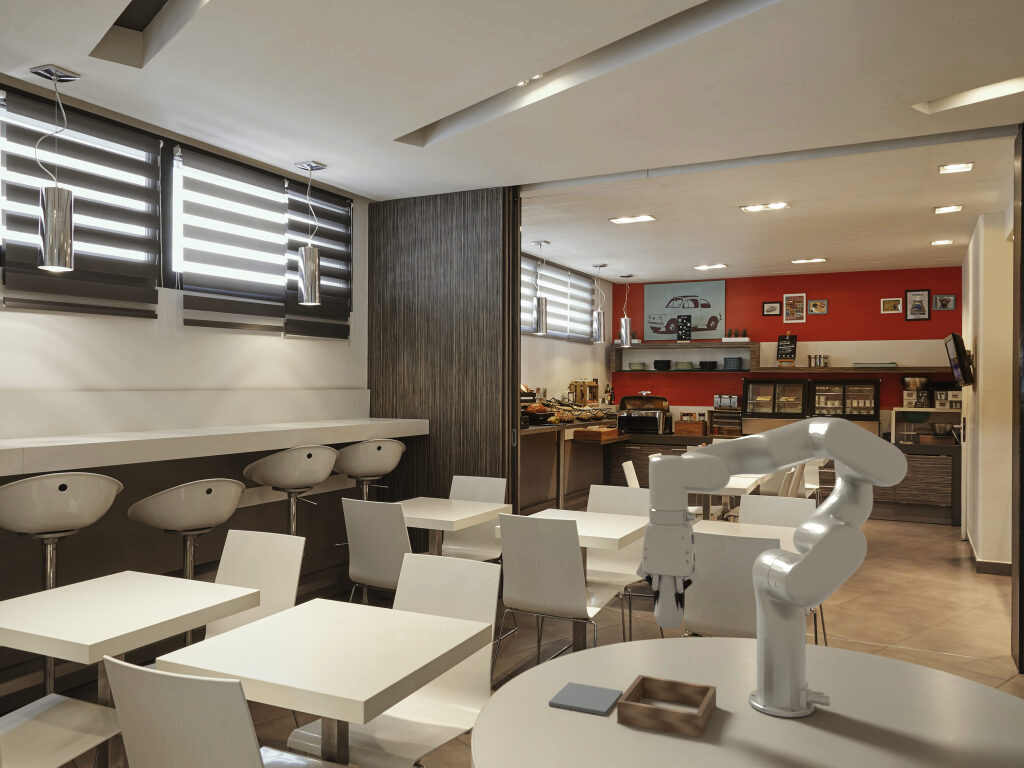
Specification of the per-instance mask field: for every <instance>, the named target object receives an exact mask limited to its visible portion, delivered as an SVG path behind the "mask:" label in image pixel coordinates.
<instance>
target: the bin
mask: <svg viewBox="0 0 1024 768" xmlns="http://www.w3.org/2000/svg"><path fill="white" fill-rule="evenodd" d="M644 696H647V697H646V698H650V697H652V699H656V698H658V699H657V700H662V699H665V700H664V701H668V700H670V701H669V702H674V701H675V702H676V703H680V702H681V703H682V704H686V703H687V705H692V706H699V708H698V709H697V712H694V711H686V710H680V709H674V708H670V707H663V706H657V705H650V704H644V703H639V702H640V700H641V699H642V698H641V697H644ZM640 698H641V699H640ZM638 701H639V702H638ZM681 703H680V704H681ZM616 706H617V707H616V710H617V711H616V713H617V715H616V717H617V718H616V720H617V723H618V724H623V725H628V724H629V726H634V725H635V727H639V726H641V727H640V728H645V727H646V729H650V728H651V730H656V731H660V732H661V731H662V732H666V733H667V732H668V733H672V734H678V735H679V734H680V735H684V736H688V737H693V738H694V737H695V738H701V739H702V737H703V735H704V733H705V730H706V728H707V726H708V724H709V722H710V721H711V718H712V716H713V714H714V711H715V710H716V708H717V686H713V685H707V684H700V683H696V682H694V683H693V682H690V681H688V682H687V681H681V680H675V679H668V678H661V677H657V676H651V675H650V676H649V675H642V674H638V676H637V677H636V678H635V679H634V680H633V682H632V683H631V684H630V685H629V686H628V688H627V689H626V690H625V691H624V692H623V695H622V696H621V697H620V699H619V700H618V701H617V702H616Z"/></svg>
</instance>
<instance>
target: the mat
mask: <svg viewBox="0 0 1024 768" xmlns="http://www.w3.org/2000/svg"><path fill="white" fill-rule="evenodd" d="M623 691H624V690H619V689H613V688H606V687H602V686H595V685H588V684H582V683H577V682H572V681H569V682H568V683H566V684H565V685H564V686H563V688H561V690H559V691H558V692H557V693H556V694H555V695H554V696H553V697H552V698H551V699H550V700H549V701H548V706H549V707H555V708H559V707H560V709H564V708H567V709H566V710H570V709H572V711H575V710H578V711H577V712H581V711H583V712H582V713H587V712H589V713H588V714H592V713H595V714H594V715H598V714H599V715H600V716H603V715H605V716H607V715H608V713H609V712H610V711H611V710H612V709H613V708H614V706H615V705H616V704H617V701H618V699H619V698H621V696H622V695H623V694H624V692H623ZM615 703H616V704H615ZM611 708H612V709H611ZM610 709H611V710H610ZM606 714H607V715H606ZM605 716H604V717H605Z"/></svg>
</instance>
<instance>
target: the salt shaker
mask: <svg viewBox="0 0 1024 768" xmlns="http://www.w3.org/2000/svg"><path fill="white" fill-rule="evenodd" d="M658 591H659V592H660V594H659V600H658V604H657V600H656V605H654V612H653V613H654V614H653V615H654V618H655V620H656V622H657V623H656V624H657V625H658V627H660V628H663V629H668V630H675V629H679V628H680V627H681V625H682V622H683V620H684V616H685V615H684V608H681V607H680V604H679V606H678V610H677V605H676V599H675V593H676V592H677V583H676V577H672V576H661V575H660V581H659V587H658Z"/></svg>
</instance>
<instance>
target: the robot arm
mask: <svg viewBox="0 0 1024 768" xmlns="http://www.w3.org/2000/svg"><path fill="white" fill-rule="evenodd" d="M821 459H825V460H831V461H834V462H833V463H834V465H833V466H834V473H835V482H834V487H833V490H832V491H831V493H830V494H829V495H828V497H827V498H826V499H824V501H823V502H822V503H820V505H818V506H817V507H816V508H815V509H814V511H812V512H811V513H810V514H809V515H808V516H807V517H806V518H805V519H804V520H803V521H801V523H800V524H799V525H798V526H797V527H796V529H795V531H794V532H793V537H792V541H793V546H794V547H795V549H796V551H797V552H798V553H800V554H797V553H795V552H792V551H789V550H786V549H782V548H770V549H769V548H768V549H767V550H764V551H763V552H761V553H760V554H758V556H757V557H756V558H755V560H754V563H753V565H752V571H751V573H752V574H751V575H752V584H753V590H754V596H755V605H756V690H753V691H752V692H750V693H749V694H748V703H749V705H750V706H751V707H753V708H754V709H755V710H757V711H760V712H762V713H764V714H768V715H771V716H775V717H781V718H802V717H805V716H809V715H811V714H812V713H813V712H814V711H815V704H816V705H820V706H825V707H831V703H830V702H831V696H830V695H827V694H826V695H825V693H824V691H815V690H812V688H809V682H808V681H807V667H806V666H807V647H806V645H807V619H806V612H805V609H807V610H808V609H814V608H816V607H818V606H820V605H821V604H823V603H824V602H825V601H826V600H828V599H829V598H830V597H831V596H832V595H833V594H834V593H835V592H836V591H837V590H839V588H840V587H842V585H843V584H844V583H845V582H846V581H848V579H849V578H850V577H851V576H852V575H853V574H855V572H856V571H857V570H858V569H859V568H860V566H862V564H863V563H864V560H865V558H866V556H867V553H868V552H867V551H868V542H867V538H866V535H865V534H864V532H863V530H862V529H861V527H862V526H863V525H864V524H865V523H866V521H868V519H869V517H870V516H871V514H872V511H873V506H874V492H873V489H874V488H873V486H876V487H881V488H882V487H883V488H884V487H886V488H888V487H893V486H895V485H898V484H899V483H901V482H902V480H904V479H905V477H906V475H907V472H908V460H907V457H906V456H905V454H904V453H903V452H902V451H901V449H899V447H897V446H896V445H894V444H893V443H891V442H890V441H888V440H886V439H883V438H881V436H877V435H876V434H875V433H872V432H871V431H869V430H867V429H865V428H863V427H862V426H860V425H858V424H856V423H855V422H852V421H850V420H848V419H845V418H840V417H825V416H824V417H823V416H817V417H815V416H814V417H810V418H805V419H802V420H799V421H796V422H791V423H790V424H785V425H783V426H781V427H780V426H779V427H776V428H773V429H769V430H766V431H763V432H760V433H754V434H750V435H749V434H748V435H746V436H745V435H744V436H742V437H739V438H733V439H729V440H724V441H719V442H716V443H711V444H709V445H705V446H702V447H699V448H696V449H692V450H689V451H687V452H684V453H682V454H681V455H675V454H674V455H672V454H671V455H670V454H666V455H665V454H664V455H663V454H662V455H655V456H652V457H651V458H650V460H649V462H648V486H649V487H648V488H649V489H648V493H649V494H648V502H649V503H648V505H649V507H648V509H649V510H648V512H649V514H648V516H649V520H648V522H647V523H646V525H645V529H644V535H643V544H642V545H643V546H642V556H641V557H642V558H641V562H640V564H639V565H638V568H637V570H636V573H635V574H636V575H637V576H639V577H640V578H641V579H644V580H645V581H646V582H647V584H649V586H650V587H651V589H652V591H654V592H653V600H654V601H653V605H654V606H656V600H657V604H658V600H659V594H660V592H659V591H658V587H659V581H660V575H661V576H672V577H676V583H677V592H676V593H675V599H676V605H677V610H678V606H679V604H680V607H681V608H683V609H684V608H685V591H687V589H688V588H689V587H690V586H691V585H693V584H696V583H699V582H701V581H702V580H703V575H702V572H701V571H700V569H699V567H698V565H697V551H696V549H697V548H696V541H695V534H694V528H693V525H692V524H689V522H691V521H695V520H696V513H692V512H690V510H689V508H688V507H689V506H688V505H689V503H688V501H689V498H688V497H689V494H688V492H694V493H695V492H697V493H704V494H705V493H706V494H714V493H718V492H721V491H722V490H724V489H725V488H726V487H727V486H728V484H729V482H730V480H731V477H732V476H739V475H767V474H768V475H769V474H775V473H779V472H781V471H784V470H788V469H790V468H794V467H797V466H801V465H803V464H806V463H809V462H813V461H817V460H821ZM801 555H802V556H801ZM686 578H687V579H686Z"/></svg>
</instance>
